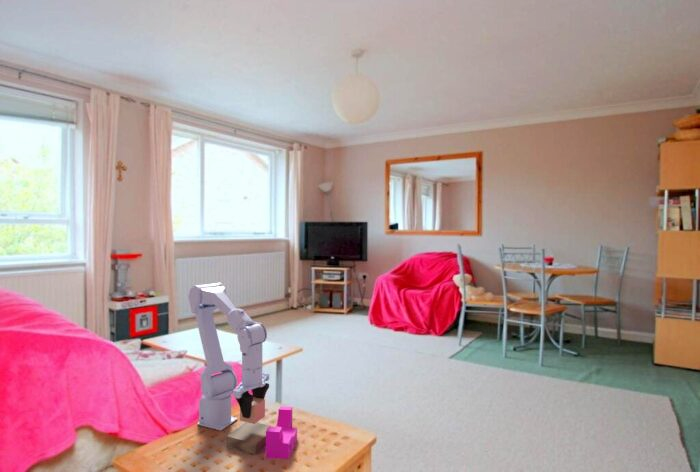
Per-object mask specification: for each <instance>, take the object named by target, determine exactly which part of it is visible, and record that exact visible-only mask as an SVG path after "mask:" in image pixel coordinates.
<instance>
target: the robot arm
mask: <svg viewBox="0 0 700 472" xmlns="http://www.w3.org/2000/svg"><path fill="white" fill-rule="evenodd" d="M187 296H188V301H189V302H188V303H189V305H190V309H191V312H192V314H194V315H195V318H196V323H197V328H198V332H199V336H200V342H201V345H202V350H203V354H204V359H205V363H206V367H205V368H204V370H203V371H202V372H201V374H200V390H201V393H202V395H201V397H200V400H199V402H198V422H197V425H198V426H201V427H206V428H209V429H213V430H218V431H223V430H224V429H226V428H227V427H229V426H230V425H231V424H233V423H235V422H236V421H237V420H238V417H235V416H232V396H233V399H235V400H236V402H237V403H238V405H239V410H240V409H241V412H242V416H243V417H244V418H250V415H251V406H252V401H253V398H254V397H256V398H261V399H265V397H266V394H267V392H268V389H269V388H270V384H269V383H268V382H269V381H270V373H268V372H263V344H264V343H265V342H266V340H267V338H268V333H267V328H266V326H265V325H264V323H262V322H257V321H254V320H253V319H252V318H251V317H250V316H249V315H248V314H247V313H246V312H245V310H244V309H243V308H237V307H236V306H235V305H234V304H233V302H232V300H230V298H229V297H228V296H227V290H226V287H225V286H224V285H223V284H222V282H214V283H207V284H198V285H197V284H194V285H191V286H190V289H189V292H188V295H187ZM217 309H218V310H219V311H220V312H222V314H223V315H225V316H226V323H227V324H228V325H229V327H230V328H231V329H232V330H233V331H234V332H235V334H236V336H237V341H238V343H239V350H240V352H241V381H240V383H239V385H238V376H237V375H236V373H235V372H234V369H233V365H231V364H230V363H227V362H226V361H224V357H223V352H222V349H221V344H220V340H219V335H218V331H217V327H216V323H215V319H214V311H216V310H217ZM217 373H218V374H217ZM250 391H251V392H252V394H250ZM232 394H233V395H232Z"/></svg>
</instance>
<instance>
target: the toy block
mask: <svg viewBox="0 0 700 472" xmlns="http://www.w3.org/2000/svg"><path fill="white" fill-rule="evenodd" d="M277 413H278V414H277V420H276V426H274V427H271V426H272V425H270V426H269V427H268V428H267V430H266V447H265V459H277V458H280V459H281V460H289V459H290V456H291V454H292V452H293V449H294V447H295V445H296V442H297V440H298V428H297V427H293V407H292V406H281V405H280V406H279V408H278V412H277Z"/></svg>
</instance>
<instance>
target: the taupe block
mask: <svg viewBox="0 0 700 472" xmlns="http://www.w3.org/2000/svg"><path fill="white" fill-rule="evenodd" d="M269 426H271V427H275V426H274V425H268V424H266V423H260V422H257V423H255V424H253V423H249V422H244V423H243V424H241V425H240V426H238V428H236V429H234V430H233V431H232V432H230V433H228V435H227V436H226V447H227V448H230V449H234V450H238V451H242V452H245V453H249V454H253V455H257V454H259V453H261V451H262V450H264V448H266V430H267V428H268V427H269Z"/></svg>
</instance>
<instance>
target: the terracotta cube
mask: <svg viewBox="0 0 700 472" xmlns="http://www.w3.org/2000/svg"><path fill="white" fill-rule="evenodd" d="M265 416H266V399H265V398H264V399H261V398H256V397H254V398H253V401H252V406H251V415H250V418H244V417H243V416H242V412H241V409H240V408H239V420H240V421H241V422H244V423H246V422H249V423H253V424H255V423H259V422H260V421H261V420H262V419H263V418H265Z"/></svg>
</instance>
